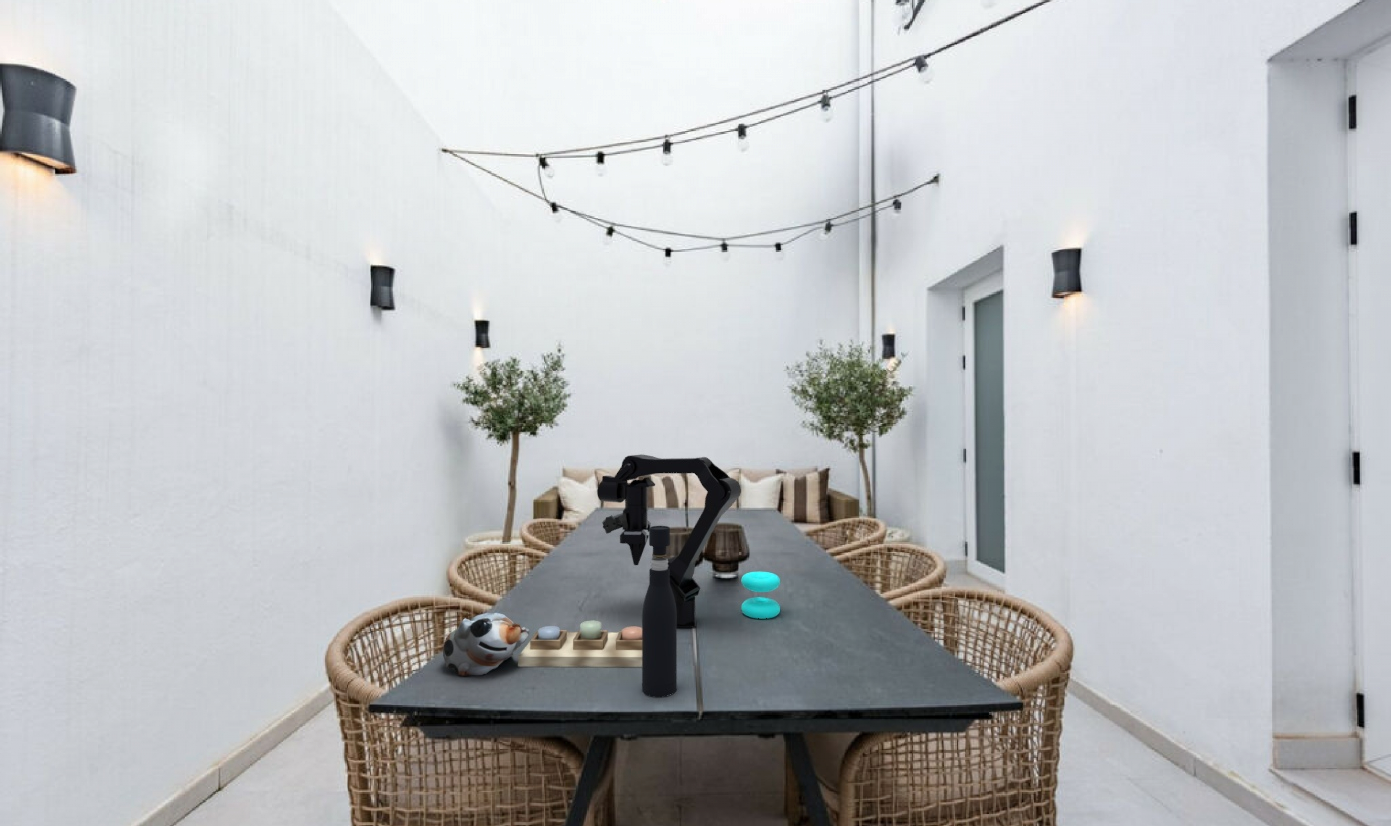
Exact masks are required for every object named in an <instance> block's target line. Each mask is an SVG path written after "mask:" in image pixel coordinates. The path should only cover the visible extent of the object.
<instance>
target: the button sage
mask: <svg viewBox="0 0 1391 826" xmlns="http://www.w3.org/2000/svg"><path fill="white" fill-rule="evenodd" d="M579 628H580V629H579V630H580V637H581V638H583V639H596V638H599V637H600V636H601V630H602V622H601V621H599V620H593V619H592V620H585V621H583V622H581V623H580V627H579Z"/></svg>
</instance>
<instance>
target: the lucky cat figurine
mask: <svg viewBox="0 0 1391 826" xmlns="http://www.w3.org/2000/svg"><path fill="white" fill-rule="evenodd" d="M529 635H530V629H529V628H526V626H523V627H522V626H521V624H519V623H516V622H515V623H514V622H513V620H511V619H510V618H509V617H507V616H506V615H505V614H503V613H499V612H494V613H493V612H492V613H490V612H485V613H481V614H477V615H475V616H473V617H471V619H468V618H467V617H465V618H463V619H462V621H460V623H459V626H458V627H457V628H456V629H455V630H453V631H451V632H450V633H449V634H448V635H447V636H446V638H445V640H444V642H443V646H442V656H443V660H444V662H445V665H446V668H447V669H449V670H451V669H453V671H454V672H455V674H456V675H458V676H459V675H470V676H483V675H482V674H485V675H486V674H487V673H490V671H492V670H495V669H497V668H499V665H501V664H502V663H503V662H504V661H507V660H508V659H510V658H511V657H512V656H514V652H516V650H517V649H519V648H520V647H521V646H522V645H523V643H525V642H526V640H527V638H528V637H529Z"/></svg>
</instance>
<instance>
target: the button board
mask: <svg viewBox="0 0 1391 826" xmlns="http://www.w3.org/2000/svg"><path fill="white" fill-rule="evenodd" d="M622 630H623V629H621V630H620V631H618V632H608V631H609V630H605V629H603V630H602V629H601V636H600V637H599V638H596V639H583V638H581V637H580V629H579V630H578V631H575V632H571V631H570V632H568V630H567V629H565V630H564V629H560V637H559V639H558V640H538V630H537V631H536V632H535V633H534V635H532V637H531V639H530V641H529V642H528V643H527V645H526V646H525V647H523V649H522V651H521V652H520V653H519V655H518V656H517V667H539V668H540V667H541V668H542V667H545V668H546V667H548V668H549V667H553V668H555V667H558V668H560V667H561V668H562V667H563V668H565V667H566V668H567V667H568V668H569V667H571V668H572V667H573V668H576V667H577V668H579V667H580V668H582V667H583V668H584V667H585V668H642V640H622Z"/></svg>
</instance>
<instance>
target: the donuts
mask: <svg viewBox="0 0 1391 826" xmlns="http://www.w3.org/2000/svg"><path fill="white" fill-rule="evenodd" d="M740 582H741V584H742V586H743V587H744V588H745V589H747V590H749V591H752V592H756V593H766V592H767V593H768V592H772V591H774V590H776V589H778V587H779V586H780V584H781V579H780V577H779V575H777V574H775V573H774V572H773V573H772V572H768V571H750V572H746V573H745V574H743V576H742V577H741V581H740ZM740 608H741V612H742V613H743V614H744V615H745V616H746V617H748V618H752V619H758V618H759V620H760V619H761V620H764V619H765V620H766V618H767V619H772V618H775V617H776V616H778V615H779V614H780V612H781V606H780V604H779V603H778V602H777V600H775V599H773V598H769V597H764V596H755V597H749V598H747V599H746V600H744V601H743V603H742V604H741V607H740Z"/></svg>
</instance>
